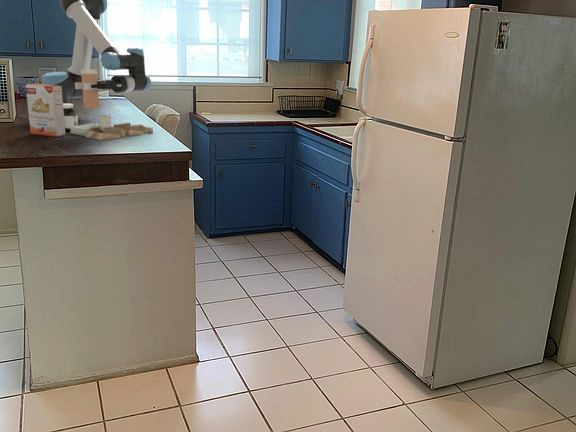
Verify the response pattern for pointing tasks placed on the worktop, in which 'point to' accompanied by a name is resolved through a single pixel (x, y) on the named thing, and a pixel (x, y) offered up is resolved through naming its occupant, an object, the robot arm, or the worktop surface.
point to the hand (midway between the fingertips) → (79, 86)
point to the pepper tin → (104, 122)
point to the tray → (82, 129)
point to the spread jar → (69, 117)
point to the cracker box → (45, 109)
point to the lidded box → (90, 95)
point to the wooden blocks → (118, 131)
